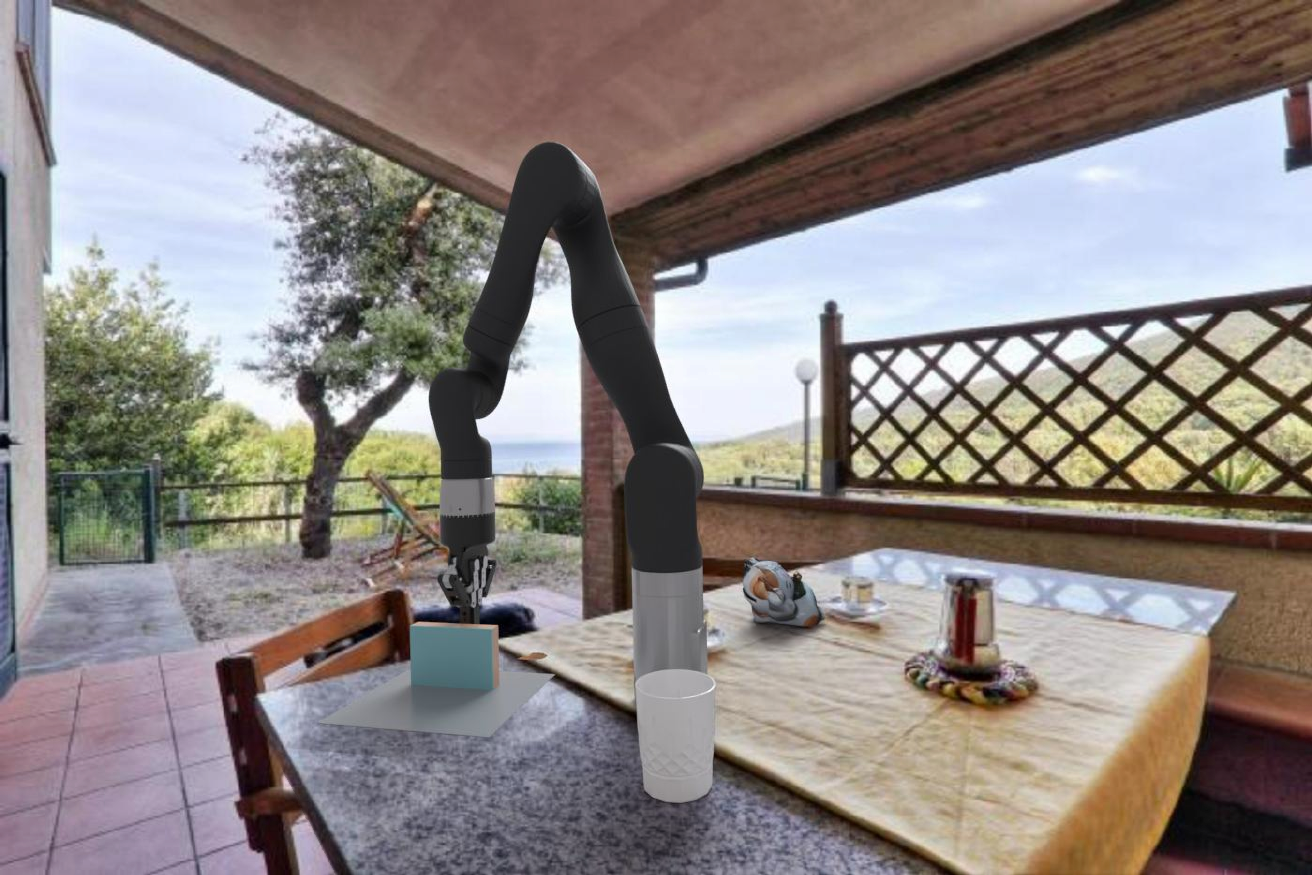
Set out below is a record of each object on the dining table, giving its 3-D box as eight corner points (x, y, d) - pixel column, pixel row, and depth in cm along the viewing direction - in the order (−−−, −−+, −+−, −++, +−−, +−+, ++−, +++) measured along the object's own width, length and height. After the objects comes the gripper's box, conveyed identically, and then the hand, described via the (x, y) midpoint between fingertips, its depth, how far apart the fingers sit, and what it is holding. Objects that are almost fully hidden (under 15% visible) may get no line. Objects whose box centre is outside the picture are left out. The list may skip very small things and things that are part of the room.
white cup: (635, 767, 69) (633, 670, 69) (710, 763, 69) (708, 666, 69) (639, 810, 61) (637, 700, 61) (725, 804, 62) (722, 695, 62)
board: (555, 682, 93) (554, 674, 93) (489, 747, 74) (488, 737, 74) (414, 673, 98) (414, 665, 98) (317, 732, 79) (317, 722, 79)
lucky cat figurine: (835, 628, 117) (811, 564, 112) (773, 657, 116) (746, 594, 112) (804, 586, 131) (781, 527, 126) (748, 611, 130) (723, 554, 126)
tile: (499, 684, 90) (498, 625, 90) (492, 690, 88) (491, 629, 88) (419, 679, 92) (418, 621, 92) (411, 684, 90) (409, 625, 90)
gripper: (468, 515, 87) (470, 648, 87) (512, 505, 100) (514, 621, 100) (417, 515, 89) (419, 645, 89) (467, 505, 102) (469, 619, 102)
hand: (470, 632), depth 94 cm, fingers closed
